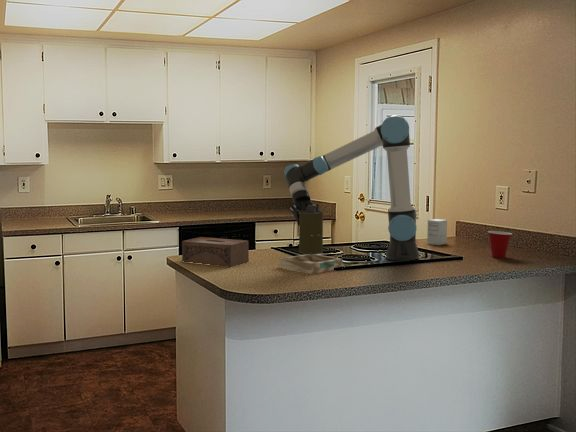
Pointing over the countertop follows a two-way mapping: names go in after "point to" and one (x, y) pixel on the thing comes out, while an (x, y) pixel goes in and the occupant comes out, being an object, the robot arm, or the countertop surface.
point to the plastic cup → (499, 243)
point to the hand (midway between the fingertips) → (314, 237)
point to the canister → (310, 231)
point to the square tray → (310, 263)
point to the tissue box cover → (215, 251)
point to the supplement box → (437, 232)
